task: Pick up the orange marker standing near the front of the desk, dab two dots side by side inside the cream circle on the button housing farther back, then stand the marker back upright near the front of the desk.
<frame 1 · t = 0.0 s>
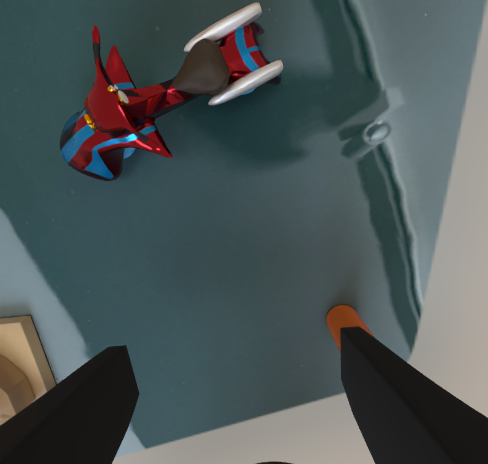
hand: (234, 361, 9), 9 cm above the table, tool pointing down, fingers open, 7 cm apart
marker: (341, 318, 18), on the table
hoverbike: (177, 114, 15), on the table
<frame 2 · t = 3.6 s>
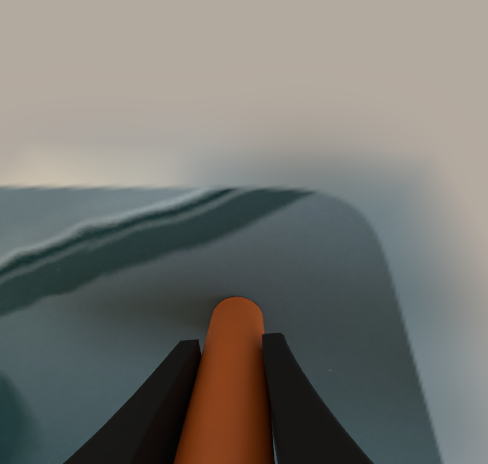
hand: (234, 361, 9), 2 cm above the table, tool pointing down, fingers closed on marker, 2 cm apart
marker: (237, 319, 11), on the table, touching gripper
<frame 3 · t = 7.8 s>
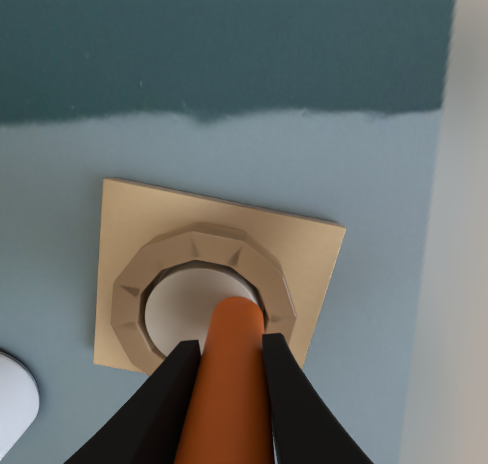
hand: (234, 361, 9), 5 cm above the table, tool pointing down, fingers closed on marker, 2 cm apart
marker: (237, 319, 11), point 3 cm above the table, touching circle pad, gripper
button housing: (211, 293, 13), on the table
circle pad: (205, 312, 12), point 2 cm above the table, slide at -1.0 cm, touching marker
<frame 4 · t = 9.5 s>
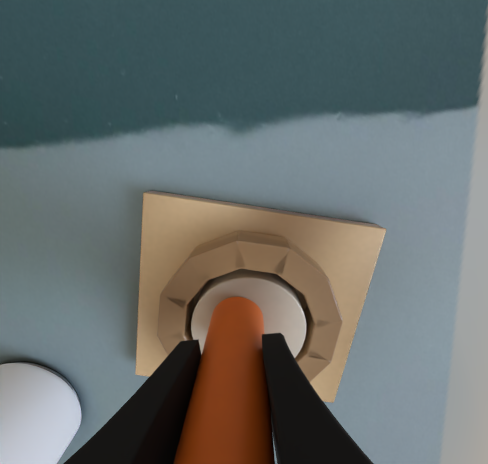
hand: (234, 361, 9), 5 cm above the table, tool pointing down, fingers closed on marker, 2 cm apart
marker: (237, 319, 11), point 3 cm above the table, touching circle pad, gripper
button housing: (248, 299, 13), on the table
can: (36, 398, 16), on the table
circle pad: (248, 320, 12), point 2 cm above the table, slide at -1.0 cm, touching marker
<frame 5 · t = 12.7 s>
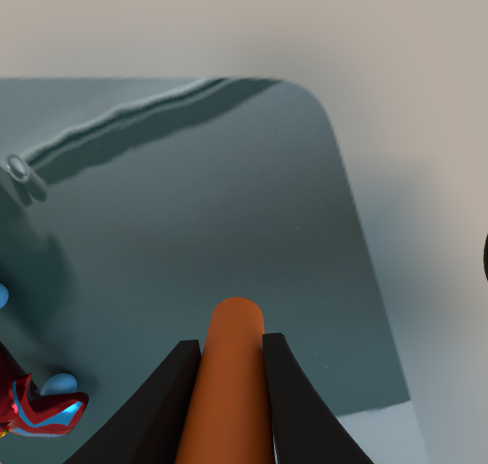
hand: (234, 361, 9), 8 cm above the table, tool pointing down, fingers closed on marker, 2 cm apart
marker: (237, 319, 11), point 5 cm above the table, touching gripper
hoverbike: (42, 338, 18), on the table
when the fingers open (2 cm above the table, at t = 14.7 s): marker stays where it is, on the table.
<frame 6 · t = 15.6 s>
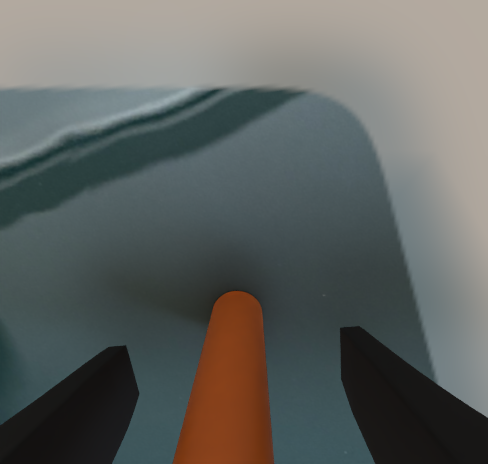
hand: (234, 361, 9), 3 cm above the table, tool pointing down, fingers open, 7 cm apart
marker: (237, 312, 11), on the table
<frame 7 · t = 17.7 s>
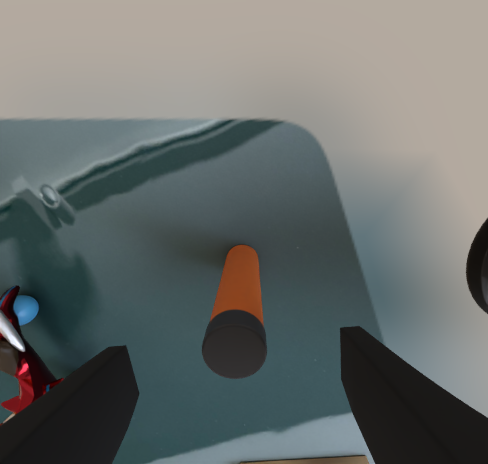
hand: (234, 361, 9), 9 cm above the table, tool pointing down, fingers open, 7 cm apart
marker: (242, 259, 18), on the table
hoverbike: (67, 345, 20), on the table
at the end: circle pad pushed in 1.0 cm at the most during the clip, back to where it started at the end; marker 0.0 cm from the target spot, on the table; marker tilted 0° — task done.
